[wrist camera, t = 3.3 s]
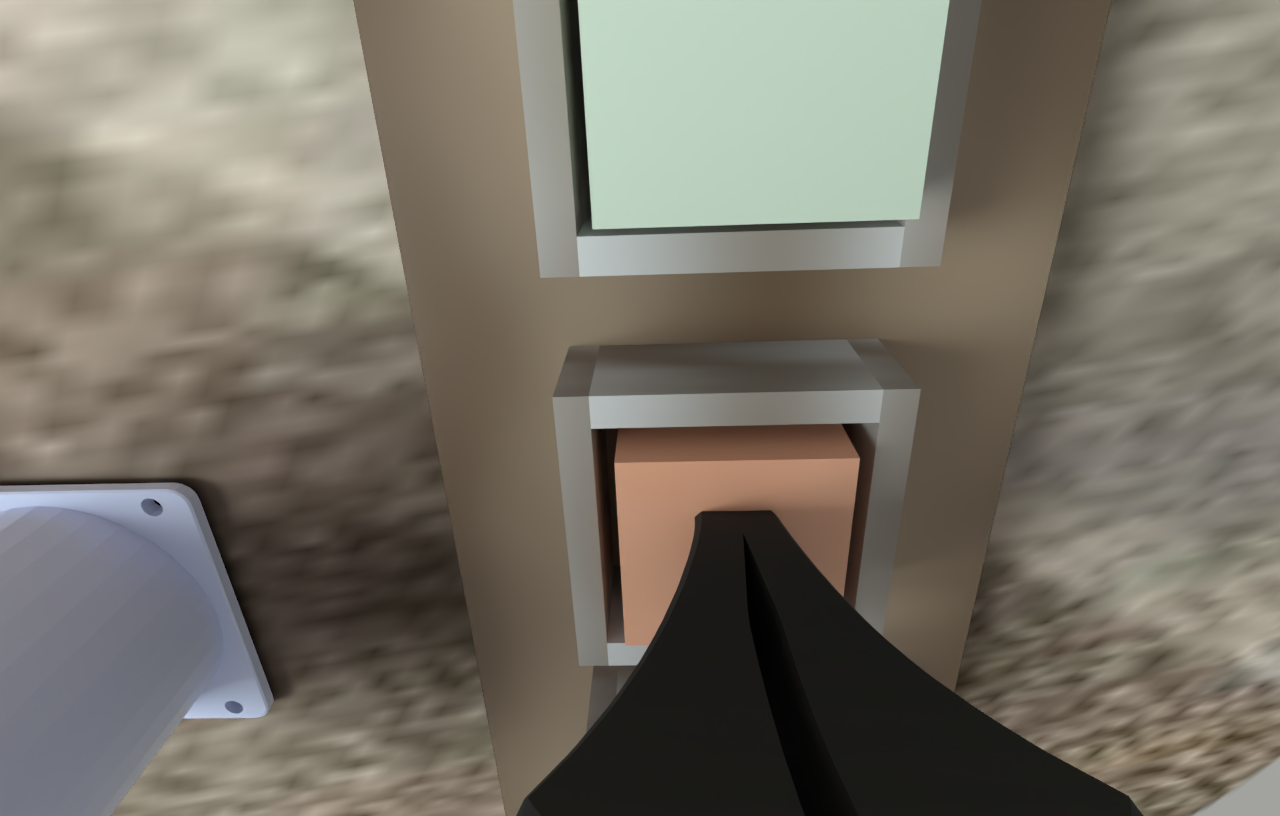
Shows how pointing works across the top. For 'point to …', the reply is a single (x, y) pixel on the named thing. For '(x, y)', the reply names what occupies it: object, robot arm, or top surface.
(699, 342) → the button board
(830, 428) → the terracotta button
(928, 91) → the sage button
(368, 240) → the top surface
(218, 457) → the top surface
